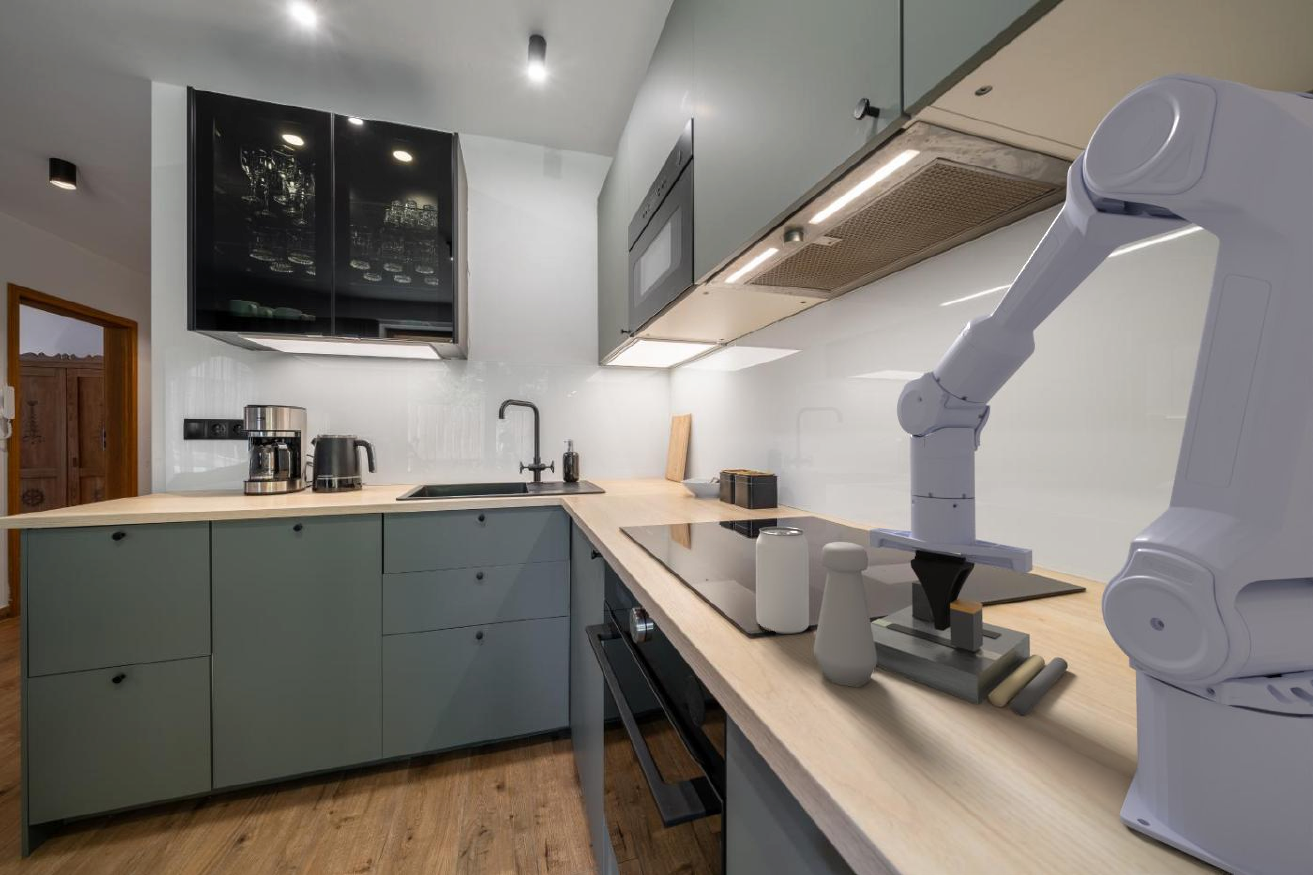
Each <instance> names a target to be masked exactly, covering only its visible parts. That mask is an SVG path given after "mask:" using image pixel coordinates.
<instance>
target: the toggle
mask: <svg viewBox="0 0 1313 875" xmlns="http://www.w3.org/2000/svg"><path fill="white" fill-rule="evenodd" d="M983 622H984V621H983V603H981V602H976V601H973V600H968V599H964V598H957V600H956V601H954V602H952V603H950V626H951V645H954V646H957V647H960V648H964V649H967V650H970V651H975V650H977V649H978V648H979V647H981V646H982V645H983Z"/></svg>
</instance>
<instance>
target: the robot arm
mask: <svg viewBox="0 0 1313 875" xmlns="http://www.w3.org/2000/svg"><path fill="white" fill-rule="evenodd" d="M1067 171H1068V172H1067V179H1066V194H1065V195H1066V198H1065V202H1064V205H1063V207H1062V209H1061V210H1060V211H1059V213H1057V216H1056V218H1055V219H1054V220H1053V222H1052V223H1051V225H1050V226H1049V228H1048V229H1047V230H1046V233H1044V235H1043V237H1042V238H1041V240H1040V241H1039V243H1038V244H1037V246H1036V247H1035V249H1034V250H1033V252H1032V253H1031V255H1030V256H1029V258H1028V259H1027V261H1026V263H1025V264H1024V266H1023V267H1022V268H1021V270H1020V272H1019V273H1018V275H1017V276H1016V277H1015V279H1014V281H1013V282H1012V284H1011V285H1010V286H1009V288H1008V289H1007V291H1006V292H1005V294H1004V295H1003V297H1002V298H1001V299H1000V301H999V303H998V304H997V306H996V308H995V309H994V311H992V312H989V313H988V314H983V315H980V316H977V317H976V316H975V317H974V318H971V319H970V320H969V321H968V322H967V323H965V324H964V326H963V327H962V328H961V329H960V330H959V333H958V336H957V337H956V339H954V341H953V343H952V344H951V346H949V348H948V349H947V351H946V352H945V353H944V354H943V356H942V357H941V359H940V360H939V361H938V363H937V364H936V365H935V367H934V368H933V370H931V372H930V371H929V372H928V371H927V372H924V373H923V375H922V376H921V377H918V378H917V377H916V378H913V379H911V380H909V381H908V382H907V383H905V385H904V386H903V388H902V390H901V393H900V394H899V396H898V399H897V405H896V414H897V419H898V422H899V424H900V427H901V429H902V430H903V431H904V432H906V433H907V434H909V443H910V444H909V453H910V454H909V455H910V456H909V458H910V460H909V461H910V468H909V469H910V530H901V529H891V528H881V527H876V528H871V529H869V546H870V547H872V548H876V549H877V548H885V549H892V550H897V551H902V552H903V551H904V552H908V553H913V554H914V553H915V554H914V558H913V559H911V560H910V566H911V569H912V571H913V573H914V574H915V576H916V578H917V579H918V580H919V581H920V583H921V585H922V587H923V589H924V591H925V594H926V596H927V599H928V601H929V604H930V608H931V611H932V614H933V618H934V626H935V629H937V630H941V631H944V630H946V629H947V628H949V627H951V626H950V603H952V602H954V601H956V600H958V599H959V598H958V597H959V596H960V593H961V591H962V588H963V586H964V585H965V583H966V581H967V580H968V577H969V576H970V574H971V573H972V572H973V570H974V567H975V564H978V565H983V566H984V565H985V566H988V567H995V568H1000V569H1006V570H1012V572H1015V573H1021V574H1027V573H1030V572H1031V571H1033V550H1032V549H1030V548H1024V547H1018V546H1017V547H1015V546H1012V545H1011V546H1010V545H1006V544H1003V543H995V542H991V541H987V540H983V539H982V540H981V539H978V538H976V537H977V536H976V530H977V529H976V485H975V484H976V476H975V473H976V472H975V471H976V469H975V467H976V466H975V464H976V463H975V462H976V461H975V457H976V456H975V455H976V454H975V452H976V451H978V449H979V448H978V447H980V445H981V433H982V431H983V429H984V427H985V426H986V424H987V422H988V420H989V418H990V414H991V405H989V404H988V403H989V402H990V401H991V400H992V399H993V398H994V396H995V395H996V394H997V393H998V392H999V391H1000V390H1001V389H1002V387H1003V386H1004V385H1006V383H1007V382H1009V380H1010V379H1011V378H1012V377H1013V376H1014V374H1016V373H1017V372H1018V370H1019V369H1020V368H1021V367H1022V366H1023V365H1024V363H1025V362H1026V361H1027V360H1028V359H1029V358H1030V357H1031V356H1032V355H1033V354H1034V352H1035V349H1036V343H1035V336H1034V331H1035V330H1036V329H1037V328H1038V327H1039V326H1040V325H1041V324H1042V323H1043V322H1044V321H1045V320H1046V319H1047V318H1048V317H1050V315H1051V314H1052V313H1053V312H1054V311H1055V310H1056V309H1057V308H1058V307H1059V306H1060V305H1061V304H1062V303H1063V302H1064V301H1065V300H1066V299H1067V298H1068V297H1069V296H1070V295H1071V294H1073V292H1074V291H1075V290H1077V288H1078V287H1079V286H1080V285H1081V284H1082V283H1083V282H1084V281H1085V280H1087V278H1088V277H1089V276H1090V275H1091V274H1093V272H1094V271H1095V270H1096V269H1098V267H1100V266H1101V265H1102V263H1104V261H1105V260H1106V259H1107V258H1108V257H1109V256H1111V254H1112V253H1114V252H1115V250H1117V249H1118V248H1120V247H1121V246H1124V245H1127V244H1131V243H1135V242H1138V241H1141V240H1144V239H1149V238H1152V237H1154V236H1158V235H1163V234H1165V233H1168V232H1172V231H1176V230H1179V229H1183V228H1185V227H1188V226H1190V225H1192V224H1195V225H1196V226H1198V227H1200V228H1202V229H1203V230H1206V231H1207V232H1209V233H1211V234H1213V235H1215V236H1216V237H1217V238H1218V240H1219V244H1218V250H1217V256H1216V261H1215V265H1214V271H1213V275H1212V281H1211V287H1210V292H1209V296H1208V303H1207V308H1206V313H1205V318H1204V324H1203V329H1202V334H1201V340H1200V345H1199V351H1198V355H1197V360H1196V365H1195V370H1194V375H1193V380H1192V386H1191V392H1190V397H1189V402H1188V408H1187V412H1186V418H1185V423H1184V428H1183V433H1182V434H1183V435H1182V438H1181V443H1180V444H1181V445H1180V448H1179V454H1178V460H1177V465H1176V469H1175V475H1174V480H1173V481H1174V482H1173V486H1172V490H1171V495H1170V502H1169V506H1168V508H1167V509H1166V510H1165V511H1164V512H1163V513H1161V515H1160V516H1158V517H1157V518H1156V519H1155V520H1154V521H1153V522H1151V523H1149V524H1148V525H1147V526H1146V527H1145V528H1144V529H1143V530H1141V532H1139V533H1138V534H1137V535H1136V536H1135V537H1134V538H1133V539H1132V540H1131V541H1130V545H1129V550H1128V555H1127V559H1126V562H1125V563H1124V565H1123V567H1122V568H1121V570H1120V571H1118V572H1117V574H1116V575H1115V576H1114V577H1112V578H1111V579H1110V580H1109V581H1108V583H1107V584H1106V585H1105V588H1104V590H1103V592H1102V596H1101V613H1102V619H1103V621H1104V624H1105V627H1106V630H1107V631H1108V634H1110V637H1111V638H1112V639H1113V641H1114V642H1115V644H1116V645H1117V646H1118V648H1119V649H1120V650H1121V652H1123V653H1124V655H1126V656H1127V657H1128V666H1129V668H1130V669H1133V670H1135V692H1136V694H1135V696H1136V697H1135V698H1136V739H1137V740H1136V742H1137V743H1136V745H1137V767H1136V770H1135V773H1134V774H1133V778H1132V780H1131V783H1130V785H1129V789H1128V791H1127V794H1126V796H1125V799H1124V801H1123V803H1122V806H1121V809H1120V811H1119V820H1120V821H1121V822H1122V823H1123V824H1124V825H1126V826H1127V827H1128V828H1131V829H1133V830H1135V831H1137V832H1139V833H1142V834H1144V835H1146V836H1148V837H1151V838H1153V839H1155V840H1157V841H1159V842H1162V843H1164V844H1166V845H1168V846H1170V847H1173V848H1175V849H1177V850H1179V851H1181V852H1183V853H1185V854H1188V855H1190V856H1193V857H1195V858H1197V859H1199V860H1201V861H1204V862H1205V863H1207V864H1210V865H1212V866H1214V867H1216V868H1219V869H1220V870H1222V871H1225V872H1228V873H1229V874H1231V875H1313V93H1308V92H1303V91H1278V90H1277V91H1276V90H1270V89H1264V88H1257V87H1254V86H1252V85H1248V84H1245V83H1242V82H1238V81H1232V80H1228V79H1221V78H1218V77H1217V78H1216V77H1211V76H1206V75H1200V74H1195V73H1188V72H1176V73H1175V72H1174V73H1168V74H1163V75H1160V76H1157V77H1156V78H1155V77H1154V78H1153V79H1150V80H1148V81H1146V82H1144V83H1143V84H1141V85H1139V86H1137V87H1136V88H1134V89H1133V90H1131V91H1130V92H1128V94H1126V95H1124V97H1123V98H1121V99H1120V100H1119V101H1118V102H1117V103H1116V104H1115V105H1114V106H1113V107H1112V108H1111V109H1110V110H1109V111H1108V113H1107V114H1106V115H1105V116H1104V117H1103V119H1102V120H1101V121H1100V123H1099V124H1098V125H1097V127H1096V129H1095V130H1094V132H1093V134H1092V135H1091V138H1090V139H1089V142H1088V144H1087V146H1086V148H1085V149H1084V150H1083V151H1082V152H1081V153H1080V155H1078V157H1077V158H1076V159H1075V160H1074V161H1073V163H1072V164H1071V165H1070V166H1069V169H1068V170H1067ZM987 404H988V405H987Z"/></svg>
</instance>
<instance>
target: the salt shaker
mask: <svg viewBox="0 0 1313 875" xmlns="http://www.w3.org/2000/svg"><path fill="white" fill-rule="evenodd" d="M820 555H821V563H822V566H823V567H825V568H827V572H826V579H825V584H824V590H823V595H822V600H821V606H820V612H819V618H818V622H817V629H816V635H815V639H814V640H815V641H814V645H813V653H814V657H815V658H816V662H817V663H818V666H819V668H820V670H821V673H822V675H823V676H824V677H826V678H827V679H828V680H829V681H831V682H832V683H834V684H837V685H840V686H841V685H843V686H847V687H852V688H857V687H860V686H862V685H865V684H867V683H869V682H870V679H871V678H872V676H873V673H874V670H875V668H876V667H877V666H876V663H877V654H876V649H875V644H874V639H873V634H872V629H871V619H870V613H869V607H868V602H867V597H866V591H865V586H864V580H863V574H862V572H863V571H865V570H867V569H868V567H869V566H868V565H869V564H868V562H869V559H868V558H869V557H868V552H867V550H866V549H865V547H864V546H862V545H859V544H857V543H852V542H845V541H834V542H829V543H826V544H825V545H824V546H823V547H822V549H821V554H820Z"/></svg>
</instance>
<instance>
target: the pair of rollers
mask: <svg viewBox="0 0 1313 875" xmlns="http://www.w3.org/2000/svg"><path fill="white" fill-rule="evenodd" d="M1045 664H1046V660H1045V658H1043V657H1042V656H1041V655H1039V654H1031V655H1030V658H1028V659H1027V660H1026V661H1025V662H1024V663H1023V664H1022V665H1021V666H1020V667H1018V668H1017V669H1016V670H1015V671H1014V672H1013V673H1012V674H1011V675H1010V676H1008V677H1007V678H1006V679H1005V680H1004V681H1003V682H1002V683H1001V684H1000V685H998V686H997V687H996V688H995V689H994V690H993V691H992V692H991V693H990V694H989V695H988V699H989V702H990V703H991V704H992V705H993V706H995V707H997V708H1003V707H1004V706H1005V705H1007V703H1008V702H1009V701H1010V700H1011V699H1012V698H1013V697H1014V696H1015V695H1016V694H1017V693H1018V692H1019V694H1017V695H1016V696H1015V697H1014V698H1013V699H1012V700H1011V701H1010V707H1011V710H1012V711H1013V712H1014V713H1015V714H1017V715H1019V716H1026V715H1027V714H1028V713H1029V712H1030V711H1031V710H1032V709H1033V708H1034V706H1036V704H1037V703H1038V702H1039V700H1040V699H1042V697H1043V696H1044V695H1045V694H1046V693H1047V692H1048V691H1049V690H1050V688H1051V687H1052V686H1053V685H1054V684H1055V683H1056V682H1057V680H1058V679H1059V678H1060V677H1061V676H1062V675H1063V674H1064V672H1065V671H1066V670H1067V669H1068V667H1069V664H1068V661H1066V659H1064V658H1063V657H1060V656H1059V657H1058V656H1057V657H1054V658H1053V659H1052V660H1050V662H1049V663H1048V664H1047V665H1046V666H1045ZM1044 666H1045V667H1044ZM1043 667H1044V668H1043ZM1042 668H1043V669H1042ZM1041 669H1042V670H1041ZM1040 670H1041V671H1040ZM1038 672H1039V673H1038ZM1037 673H1038V674H1037ZM1036 674H1037V675H1036ZM1035 675H1036V676H1035ZM1034 676H1035V677H1034ZM1032 678H1033V679H1032ZM1031 679H1032V680H1031ZM1029 681H1030V682H1029ZM1028 682H1029V683H1028ZM1027 683H1028V684H1027ZM1026 684H1027V685H1026ZM1025 685H1026V686H1025ZM1024 686H1025V687H1024ZM1023 687H1024V688H1023ZM1022 688H1023V689H1022ZM1021 689H1022V690H1021Z"/></svg>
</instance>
